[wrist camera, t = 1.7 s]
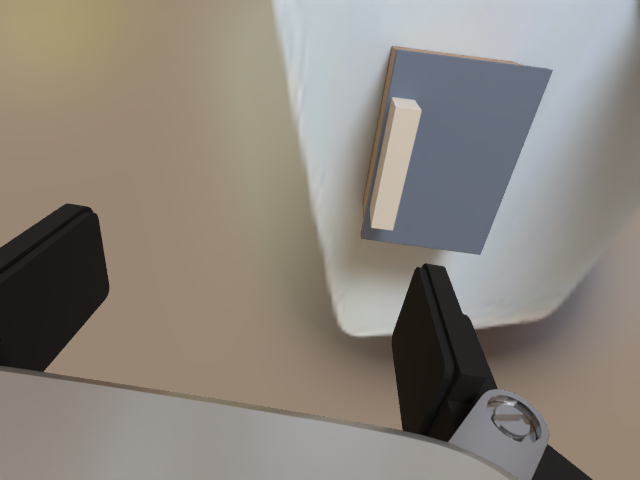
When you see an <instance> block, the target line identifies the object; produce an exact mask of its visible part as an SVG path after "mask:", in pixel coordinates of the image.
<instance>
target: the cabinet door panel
mask: <svg viewBox="0 0 640 480" xmlns="http://www.w3.org/2000/svg"><path fill="white" fill-rule="evenodd" d="M552 71H553V70H550V69H547V68H539V67H531V66H524V65H516V64H508V63H501V62H493V61H485V60H478V59H470V58H462V57H455V56H447V55H439V54H432V53H424V52H416V51H408V50H401V49H396V54H395V59H394V64H393V69H392V74H391V80H390V85H389V90H388V95H387V100H386V106H385V111H384V116H383V121H382V126H381V132H380V137H379V142H378V147H377V153H376V158H375V163H374V168H373V173H372V179H371V184H370V189H369V194H368V199H367V205H366V210H365V215H364V220H363V225H362V231H361V239H368V240H375V241H382V242H390V243H397V244H404V245H412V246H419V247H427V248H434V249H441V250H449V251H456V252H463V253H471V254H478V255H480V254H481V252H482V249H483V247H484V244H485V241H486V239H487V236H488V234H489V231H490V229H491V226H492V224H493V221H494V219H495V216H496V213H497V211H498V208H499V206H500V203H501V201H502V198H503V196H504V193H505V191H506V188H507V185H508V183H509V180H510V178H511V175H512V173H513V170H514V168H515V165H516V163H517V160H518V157H519V155H520V152H521V150H522V147H523V145H524V142H525V140H526V137H527V135H528V132H529V129H530V127H531V124H532V122H533V119H534V117H535V114H536V112H537V109H538V106H539V104H540V101H541V99H542V96H543V94H544V91H545V89H546V86H547V84H548V81H549V78H550V76H551V73H552Z"/></svg>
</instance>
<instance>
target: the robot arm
mask: <svg viewBox="0 0 640 480" xmlns="http://www.w3.org/2000/svg"><path fill="white" fill-rule="evenodd" d="M108 293H109V281H108V275H107V268H106V262H105V256H104V250H103V244H102V237H101V231H100V225H99V219H98V216H97V214H95V213H93V211H92V210H91V208H89V207H86V206H80V205H74V204H65V205H63V206H62V207H60V208H59V209H57V210H56V211H54V212H53V213H51V214H50V215H48V216H47V217H45V218H44V219H42V220H41V221H39V222H38V223H36V224H35V225H33V226H32V227H30V228H29V229H27V230H26V231H24V232H23V233H21V234H20V235H19V236H17V237H15V238H14V239H12V240H11V241H10V242H8V243H7V244H5V245H4V246H2V247H1V248H0V480H592V479H591V478H590V477H589V476H587V475H586V474H585V473H583V472H582V471H581V470H580V469H578V468H577V467H576V466H575V465H573V464H572V463H571V462H570V461H568V460H567V459H566V458H565V457H563V456H562V455H561V454H559V453H558V452H557V451H555V450H554V449H553V448H552V447H550V446H549V445H548V440H549V431H548V427H547V424H546V422H545V421H544V419H543V417H542V415H541V414H540V413H539V412H538V411H537V410H536V409H535V407H534V406H533V405H531V404H530V403H529V402H528V401H526V400H525V399H523V398H522V397H520V396H518V395H516V394H515V393H512V392H509V391H506V390H498V389H497V386H496V383H495V381H494V378H493V376H492V373H491V371H490V368H489V366H488V363H487V361H486V358H485V356H484V353H483V351H482V348H481V346H480V343H479V341H478V338H477V336H476V333H475V330H474V328H473V325H472V323H471V320H470V319H469V317H468V316H467V315H464V314H463V313H462V311H461V308H460V305H459V303H458V300H457V298H456V295H455V292H454V290H453V287H452V284H451V282H450V279H449V276H448V274H447V271H446V269H445V267H443V266H438V265H432V264H426V263H425V264H424V265H423V266H422V268H420V267H417V268H416V269H415V271H414V274H413V277H412V280H411V283H410V286H409V288H408V291H407V294H406V297H405V300H404V303H403V306H402V309H401V311H400V314H399V317H398V320H397V323H396V326H395V329H394V332H393V335H392V350H393V359H394V366H395V373H396V382H397V390H398V396H399V404H400V413H401V420H402V428H403V431H401V430H397V429H392V428H386V427H381V426H375V425H370V424H364V423H359V422H353V421H348V420H342V419H337V418H331V417H325V416H318V415H312V414H306V413H300V412H293V411H288V410H282V409H275V408H270V407H263V406H257V405H251V404H245V403H239V402H232V401H226V400H220V399H214V398H207V397H201V396H195V395H188V394H182V393H176V392H170V391H163V390H156V389H150V388H144V387H137V386H131V385H125V384H118V383H111V382H104V381H99V380H92V379H85V378H79V377H72V376H66V375H59V374H53V373H46V372H44V370H45V369H46V368H47V367H48V366H49V365H50V363H51V362H52V361H53V360H54V359H55V358H56V356H57V355H58V354H59V353H60V352H61V351H62V349H63V348H64V347H65V346H66V345H67V343H68V342H69V341H70V340H71V339H72V338H73V336H74V335H75V334H76V333H77V332H78V331H79V329H80V328H81V327H82V326H83V325H84V324H85V322H86V321H87V320H88V319H89V318H90V316H91V315H92V314H93V313H94V312H95V311H96V309H97V308H98V307H99V306H100V305H101V303H102V302H103V301H104V300H105V299H106V297H107V295H108Z"/></svg>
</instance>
